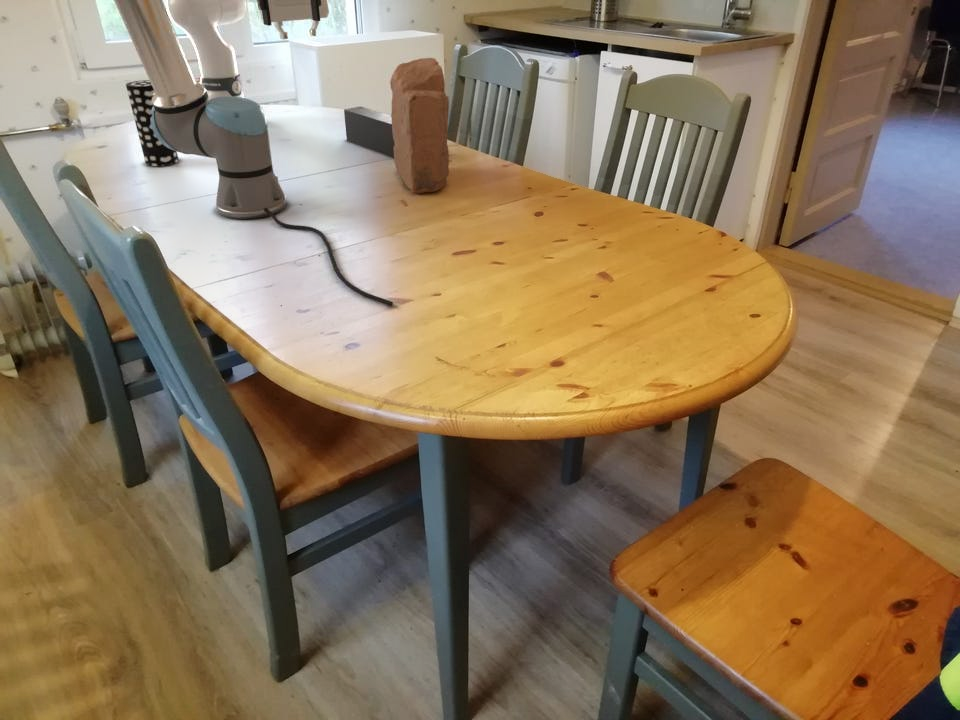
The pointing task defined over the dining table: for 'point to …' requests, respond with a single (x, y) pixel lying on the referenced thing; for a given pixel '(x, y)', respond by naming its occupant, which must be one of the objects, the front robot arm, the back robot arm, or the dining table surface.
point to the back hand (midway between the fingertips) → (298, 37)
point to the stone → (420, 124)
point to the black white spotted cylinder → (148, 125)
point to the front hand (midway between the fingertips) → (292, 22)
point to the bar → (370, 129)
